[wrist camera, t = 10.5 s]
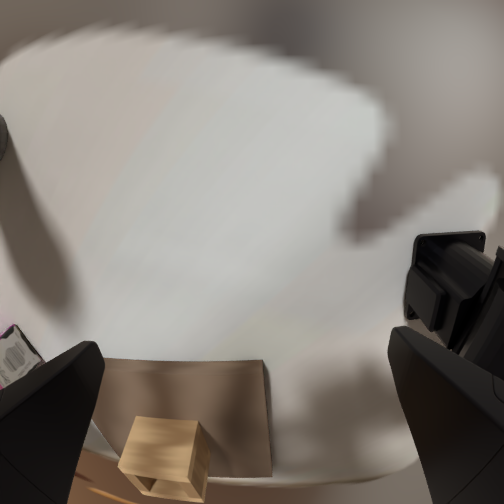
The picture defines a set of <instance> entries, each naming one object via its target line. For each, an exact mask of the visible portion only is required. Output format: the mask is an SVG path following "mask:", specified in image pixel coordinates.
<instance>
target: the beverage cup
mask: <svg viewBox="0 0 504 504" xmlns="http://www.w3.org/2000/svg"><path fill="white" fill-rule="evenodd" d="M6 144H7V127H6V123H5V120H4V118H3V117H2V116H1V115H0V160H1V158H2V157H3V154H4V152H5V149H6Z"/></svg>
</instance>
